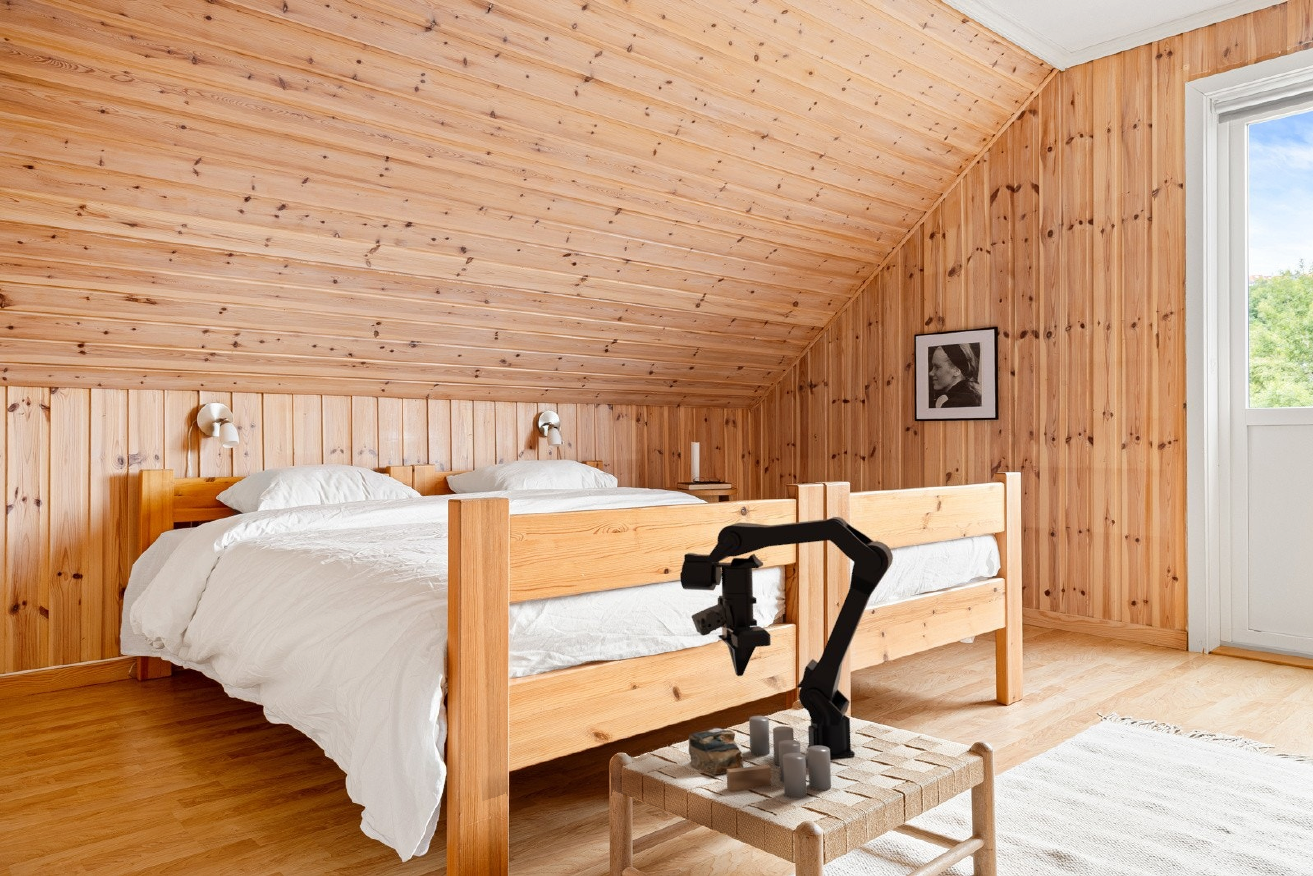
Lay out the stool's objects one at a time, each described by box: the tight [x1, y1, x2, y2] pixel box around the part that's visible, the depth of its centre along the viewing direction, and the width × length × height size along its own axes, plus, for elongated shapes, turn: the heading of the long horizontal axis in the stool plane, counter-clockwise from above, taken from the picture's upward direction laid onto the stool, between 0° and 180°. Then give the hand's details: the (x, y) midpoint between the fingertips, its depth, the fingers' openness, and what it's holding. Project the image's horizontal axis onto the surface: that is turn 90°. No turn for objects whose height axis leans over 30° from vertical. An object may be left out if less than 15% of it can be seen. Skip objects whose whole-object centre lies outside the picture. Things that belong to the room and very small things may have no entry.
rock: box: [688, 727, 745, 775], centre depth 156 cm, size 9×9×6 cm
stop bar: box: [726, 764, 772, 792], centre depth 145 cm, size 7×2×3 cm, turn 102°
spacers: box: [748, 715, 832, 800], centre depth 152 cm, size 8×24×6 cm, turn 12°
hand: (739, 675), depth 166 cm, fingers closed
